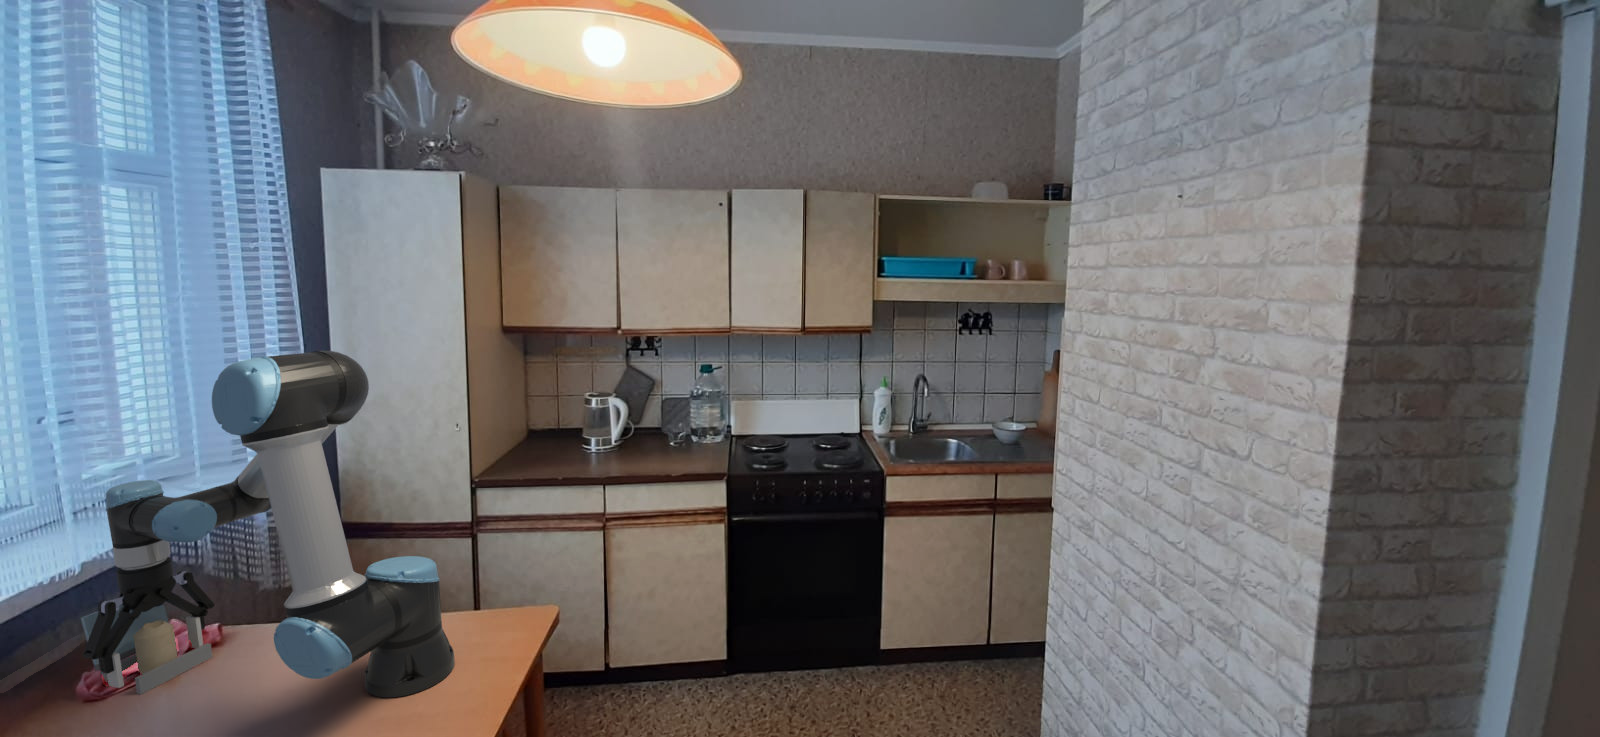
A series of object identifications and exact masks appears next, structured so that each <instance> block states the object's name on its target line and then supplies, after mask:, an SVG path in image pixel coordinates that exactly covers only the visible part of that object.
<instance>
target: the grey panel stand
mask: <svg viewBox="0 0 1600 737" xmlns="http://www.w3.org/2000/svg"><path fill="white" fill-rule="evenodd" d="M210 658H212V659H213V651H212V644H211V643H208V642H206V643H203V645H202V646H200V647H198V648H194V649H192V650H190V651H188V652H186V653H184V654H181V655H179V656H178V657H177V658H175V659H173V660H171V661H169V662H167V663H165V664H163V665H161V666H159V667H157V668H155V669H153V670H150V671H148V672H146V673H144V674H142V675H138V676H136V677H134V681H135V689H136V694H138V695H143V694H145V693H146V692H148V691H150V690H153V689H154V688H156V687H158V686H160V685H162V684H165V683H167V681H170V680H171V679H174V678H176V677H178V676H180V675H182V674H184V673H186V672H188V671H190V670H192V669H193V668H192V667H194V666H196V665H198V664H200V663H202V662H204V661H206V660H208V659H210ZM210 660H211V659H210ZM208 661H209V660H208ZM120 662H121V668H122V671H123V670H125V669H127V668H128V667H130V666H131V665H133V664H134V663H136V662H137V656H136V654H134V655H132V656H130V657H128V658H126V659H124V660H121V661H120ZM206 662H207V661H206ZM204 663H205V662H204ZM202 664H203V663H202ZM200 665H201V664H200ZM198 666H199V665H198ZM196 667H197V666H196ZM191 668H192V669H191ZM194 668H195V667H194ZM189 669H190V670H189ZM187 670H188V671H187ZM185 671H186V672H185ZM183 672H184V673H183ZM99 673H100V675H101V674H102V675H103V677H104V679H105V681H106V682H108V681H107V680H108V678H107V674H106V673H102V672H101V671H100V670H99ZM181 673H182V674H181ZM179 674H180V675H179ZM177 675H178V676H177Z"/></svg>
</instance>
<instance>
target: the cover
mask: <svg viewBox="0 0 1600 737" xmlns="http://www.w3.org/2000/svg"><path fill="white" fill-rule="evenodd" d="M164 603H165V602H164ZM164 603H163V605H161V606H157V607H153V608H152V609H150V610H148V611H146V612H141V614H140V615H139V617H138V618H137V619H135V620H134V621H133V623H132V625H131V626H130V628H129V629H128V631H127V633H126V634H125V636H124V637H123V639H122V640H121V642H120V644H119V645H118V647H117V648H116V650H115V653H119V655H120V661H122V660H125V659H127V658H129V657H131V656H133V655H135V654H136V649H135V642H134V635H135V634H136V633H137V632H138V631H139V630H140V629H141V628H142V627H143V626H144V625H145V624H146V623H153V622H155V621H158V620H163V621H165V622H167V623H170V622H169V619H168V618H169V617H168V615H167V611H166V607H165V604H164ZM123 606H124V605H122V604H121V605H120V606H119V607H118V608H119V610H118V611H116V615H115V618H114V621H113V624H112V626H113V625H114V623H115V622H116V620H117V619H118V617H119V612H120V611H121V609H122V608H123ZM132 611H133V610H130V612H129V613H131V612H132ZM97 616H98V610H97V611H95V612H92V613H90V614H87V615H84V616H82V617H80V621H81V624H82V627H83V631H84V634H85V638H86V642H88V640H89V637H90V634H91V632H92V629H93V627H94V624H95V622H96V619H97ZM112 626H111V628H112ZM91 660H92V664H93V667H94V671H95V672H98V671H99V672H100V665H99V659H91Z"/></svg>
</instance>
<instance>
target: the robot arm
mask: <svg viewBox="0 0 1600 737" xmlns="http://www.w3.org/2000/svg"><path fill="white" fill-rule="evenodd" d="M369 390H370V384H369V379H368V375H367V373H366V372H365V370H364V369H363V367H362V366H361V365H360V364H359V363H358V362H357V361H356V360H355V359H353V358H352V357H350V356H349V355H347V354H345V353H344V354H343V353H340V352H338V351H333V350H315V351H310V352H303V353H302V352H301V353H291V354H282V355H281V354H279V355H269V356H258V357H256V358H250V359H245V360H240V361H236V362H234V363H231V364H230V365H229V364H228V365H227V366H226V367H224V369H223V370H222V371H221V372H220V373H219V375H218V377H217V379H216V380H215V382H214V384H213V388H212V392H211V409H212V412H213V416H214V419H215V420H216V422H217V423H218V425H221V429H222V430H223V431H225V432H226V433H228V434H229V435H230V434H231V435H234V436H239V438H240V441H241V445H242V447H245V448H247V449H250V450H251V451H253V452H255V453H256V454H255V455H254V456H253V458H252V459H251V460H250V462H249V463H248V464H247V465H246V466H245V467H244V469H243V470H242V471H241V472H240V473H239V475H238V476H237V477H236V478H235V480H233V481H231V482H228V483H225V484H222V485H219V486H215V487H211V488H207V489H204V490H200V491H197V492H193V493H189V494H185V495H182V496H181V495H180V496H179V497H178V496H177V497H170V496H165V495H164V493H165V492H164V490H163V489H162V488H163V487H162V484H161V483H160V482H159V481H157V480H154V479H153V480H152V479H151V480H150V479H149V480H148V479H147V480H146V479H145V480H137V481H129V482H125V483H120V484H117V485H115V486H112V487H111V488H109V489H108V490H107V491H106V493H105V499H106V501H105V503H106V508H105V511H106V514H107V521H108V526H109V533H110V538H111V543H112V551H113V560H114V564H115V565H114V566H115V567H117V569H116V570H115V574H116V579H117V586H118V588H119V596H118V597H117V598H114V599H113V598H112V599H110V600H104V599H103V600H101V601H99V602H98V604H97V611H98V616H97V619H96V622H95V624H94V627H93V629H92V632H91V634H90V637H89V640H88V642H87V641H86V642H87V643H86V646H85V648H84V651H83V653H82V657H83V658H85V659H88V660H89V659H90V660H92V659H99V665H100V670H99V672H100V671H101V672H102V673H106V674H107V678H108V684H109V687H113V688H117V689H121V688H123V687H124V686H125V682H124V678H123V675H122V668H121V662H120V655H119V653H115V650H116V648H117V647H118V645H119V644H120V642H121V640H122V639H123V637H124V636H125V634H126V633H127V631H128V629H129V628H130V626H131V625H132V623H133V621H134V620H135V619H137V618H138V617H139V615H140V614H141V612H146V611H148V610H150V609H152V608H153V607H157V606H161V605H163V603H165V602H167V603H168V604H171V605H172V606H174V607H176V608H178V609H180V610H182V611H184V612H186V613H188V614H189V615H188V616H186V617H185V621H186V629H187V637H188V641H189V640H190V641H191V644H192V647H191V648H194V649H196V648H198V647H200V646H202V645H204V641H203V640H204V638H203V634H202V633H203V632H202V630H205V628H206V621H205V617H206V616H207V615H208V613H209V612H208V610H210V609H213V608H214V606H215V602H213V600H212V599H211V598H210V597H209V596H208V594H206V593H205V591H204V590H203V589H202V588H201V587H200V586H199V584H197V582H195V579H194V575H193V572H192V571H191V572H190V571H186V570H185V571H183V570H179V571H177V574H176V575H174V569H173V561H172V560H173V559H172V558H171V557H170V555H171V552H172V551H171V547H170V546H171V545H170V543H185V544H186V543H194V542H197V541H199V540H202V539H203V538H205V537H206V536H207V535H208V534H209V533H211V532H212V531H213V530H214V529H215V528H219V527H221V526H223V525H226V524H230V523H232V522H236V521H239V520H242V519H246V518H248V517H251V516H254V515H258V514H262V513H266V512H269V511H271V512H272V515H273V518H274V519H273V520H274V524H275V527H276V531H277V535H278V540H279V543H280V548H281V550H282V555H283V558H284V562H285V565H286V569H287V574H288V578H289V582H290V586H291V589H292V592H291V593H290V594H289V596H288V598H287V599H286V600H285V602H284V604H283V605H284V610H285V614H286V618H285V619H283V620H282V621H281V622H280V623H279V624H278V625H277V626H276V627H275V629H274V634H273V644H274V647H275V651H277V654H278V656H279V657H280V659H281V661H283V663H284V664H285V665H286V666H287V668H289V669H290V670H292V671H293V672H295V673H296V674H297V675H300V676H302V677H303V678H307V679H312V680H321V679H324V678H328V677H329V676H331V675H333V674H334V673H338V672H339V671H340V670H344V669H346V668H348V667H350V666H351V664H353V663H355V662H356V661H358V660H359V659H361V658H362V657H364V656H366V655H368V654H370V655H369V658H368V663H367V667H366V668H365V671H364V676H363V677H364V688H365V690H366V692H367V693H369V694H370V695H371V696H375V697H379V698H399V697H404V696H409V695H412V694H413V695H414V694H416V693H419V692H422V691H424V690H427V689H430V688H431V687H433V686H435V685H437V684H438V683H440V682H442V681H443V680H444V679H446V678H447V677H448V676H449V675H450V674H451V672H452V671H453V669H454V667H455V663H456V660H455V651H454V648H453V647H452V646H451V644H450V640H449V639H448V637H447V634H446V633H445V631H444V629H443V624H442V622H443V621H442V608H441V594H440V593H441V592H440V590H441V589H440V588H441V587H440V579H441V578H440V576H439V574H438V568H437V567H438V566H437V563H436V562H435V561H434V560H433V559H432V558H429V557H424V556H420V555H419V556H416V555H408V556H407V555H406V556H405V555H404V556H396V557H395V556H394V557H391V558H390V557H389V558H385V559H382V560H379V561H376V562H373V563H372V564H370V565H368V567H367V568H366V570H365V574H364V575H363V574H361V573H357V572H355V571H354V569H353V564H352V559H351V556H350V552H349V548H348V544H347V540H346V535H345V532H344V528H343V524H342V520H341V516H340V512H339V508H338V504H337V499H336V496H335V492H334V489H333V483H332V480H331V476H330V472H329V468H328V465H327V460H326V456H325V455H326V454H325V452H324V448H323V443H324V442H325V441H326V440H327V438H329V437H330V436H331V434H332V433H333V432H334V431H335V430H336V428H338V426H341V425H345V424H347V423H349V422H350V421H351V420H353V418H354V417H355V416H356V415H357V414H358V413H359V411H360V410H361V409H362V407H363V406H364V404H365V402H366V400H367V397H368V396H369ZM173 575H174V576H173ZM176 584H177V585H179V586H180V587H181V588H182V589H183V590H184V591H185V592H186V593H187V594H188V596H189V597H191V599H192V600H193V601H194V602H195V603H196V604H197V605H198V606H197V605H195V604H193V603H192V602H190V601H188V600H186V599H185V598H182V597H181V596H180V595H178V594H176V593H174V592H172V591H173V590H174V588H175V586H176ZM121 604H122V605H124V606H123V608H122V609H121V611H120V612H119V617H118V619H117V620H116V622H115V623H114V625H113V626H112V624H113V621H114V618H115V615H116V611H118V610H119V608H118V607H119V606H120V605H121ZM130 610H133V611H132V612H131V613H129V612H130ZM111 626H112V628H111ZM101 672H100V673H101Z"/></svg>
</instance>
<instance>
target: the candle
mask: <svg viewBox="0 0 1600 737" xmlns="http://www.w3.org/2000/svg"><path fill="white" fill-rule="evenodd" d="M175 637H176V635H175V630H174V624H172V623H170V622H169V623H167V622H165V621H163V620H158V621H155V622H153V623H146V624H145V625H144V626H143V627H142V628H141V629H140V630H139V631H138V632H137V633H136V634H135V635H134V642H135V649H136V656H137V663H138V669H139V671H140V673H141V674H144V673H146V672H148V671H150V670H153V669H155V668H157V667H159V666H161V665H163V664H165V663H167V662H169V661H171V660H173V659H175V658H177V656H178V653H177V649H176V642H175ZM139 671H138V672H139Z"/></svg>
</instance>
